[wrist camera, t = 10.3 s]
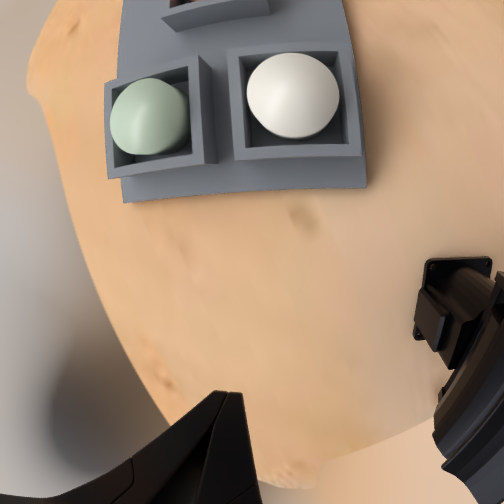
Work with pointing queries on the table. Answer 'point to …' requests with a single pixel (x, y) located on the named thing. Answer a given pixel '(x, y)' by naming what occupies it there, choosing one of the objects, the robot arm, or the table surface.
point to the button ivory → (293, 96)
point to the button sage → (151, 118)
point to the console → (234, 96)
